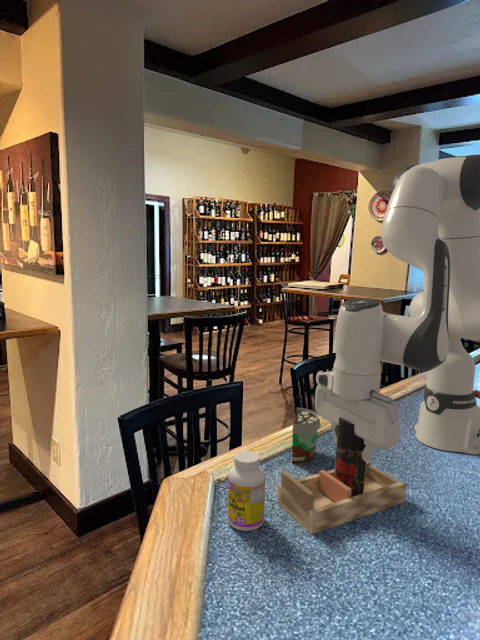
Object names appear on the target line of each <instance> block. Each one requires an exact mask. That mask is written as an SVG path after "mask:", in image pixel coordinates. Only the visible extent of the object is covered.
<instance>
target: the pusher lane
mask: <svg viewBox="0 0 480 640" xmlns="http://www.w3.org/2000/svg"><path fill="white" fill-rule="evenodd" d="M325 471H326V472H327V473H329V474H330V475H332V476H333V477H334V469H331V470H325ZM280 475H281V477H280V478H281V479H280V483H279V484H277V485H278V486H277V504H278V505H279V506H280V507H281V508H282V509H283V510H284V511H285V512H286V513H288V514H289V515H290V516H291V517H292V518H293V520H295V521H296V522H297V523H298V524H300V526H301V527H303V528H304V529H305V530H306V531H307V532H308V533H310V535H313V534H316V533H319V532H322V531H326V530H327V529H331V528H335V527H337V526H340V525H343V524H345V523H348V522H351V521H354V520H357V519H359V518H363V517H366V516H368V515H372V514H374V513H377V512H381V511H383V510H386V509H389V508H392V507H395V506H397V505H401V504H403V503H406V494H407V485H408V484H407V482H405V481H403V480H402V481H399V480H398V479H396V478H394V477H393V476H391V475H389V474H387V473H386V472H384V471H383V470H380V469H379V468H377V467H375V466H374V465H372V464H371V461H367V462H366V471H365V481H364V491H363V494H360V495H357V496H354V497H350V498H347V499H344V500H341V501H338V502H335V501H333V500H332V499H331V498H329V497H328V496H327V495H325V494H324V493H323V492H322V491H320V490H319V473H315V474H313V475H312V474H311V475H310V476H309V475H308V476H305V477H301V478H298V479H296V478H295V477H293V476H292V475H291V474H290V473H288V472H287V471H283V472H282V471H281V474H280Z"/></svg>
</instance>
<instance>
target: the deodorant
mask: <svg viewBox="0 0 480 640" xmlns="http://www.w3.org/2000/svg"><path fill="white" fill-rule="evenodd" d="M354 428H355V425H354V424H352V423H350V422H348V421H346V420H344V419H342V418H340V417H339V425H338V436H337V445H336V449H335V462H334V469H333V470H334V477H335V478H336V479H337V480H339V481H340V482H342V483H343V484H345V485H346V486H348V487H349V488H351V489H352V491H351V497H354V496H357V495H360V494H363V491H364V481H365V471H366V462H365V461H364V460H362V459H360V458H359V456H360V454H359V453H360V450H364V448H365V447H366V445H365V444H364V439H362V438H360V437H359V436H357V435H355V432H354Z"/></svg>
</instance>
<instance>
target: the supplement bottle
mask: <svg viewBox="0 0 480 640" xmlns="http://www.w3.org/2000/svg"><path fill="white" fill-rule="evenodd" d="M233 457H234V458H233V464H234V465H233V466H232V467H231V468H230V470H229V472H228V480H227V482H228V486H227V488H228V489H227V491H228V492H227V493H228V494H227V522H228V524H229V525H230V526H231V527H232V528H233V529H235V530H237V531H240V532H241V531H242V532H250V531H251V532H252V531H256V530H257V529H259V528H261V527H262V525H263V524H264V522H265V521H264V520H265V498H266V497H265V495H266V494H265V493H266V491H265V490H266V473H265V470H264V469H263V468H262V467H261V466H260V465H261V455H260V454H259V453H257V452H256V451H252V450H241V451H238V452H236V453H234V456H233Z"/></svg>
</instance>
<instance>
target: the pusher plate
mask: <svg viewBox="0 0 480 640" xmlns="http://www.w3.org/2000/svg"><path fill="white" fill-rule="evenodd" d="M326 471H327V470H325V469H322V470H318V474H319V490H320V491H322V492H323V493H324V494H325V495H327V496H328V497H329V498H331V499H332V500H333V501H335V502H338V501H341V500H344V499H347V498H350V497H351V491H352V489H351V488H349V487H348V486H346V485H345V484H343V483H342V482H340V481H339V480H337V479H336V478H335V477H333V476H332V475H330V474H329V473H327V472H326Z"/></svg>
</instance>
